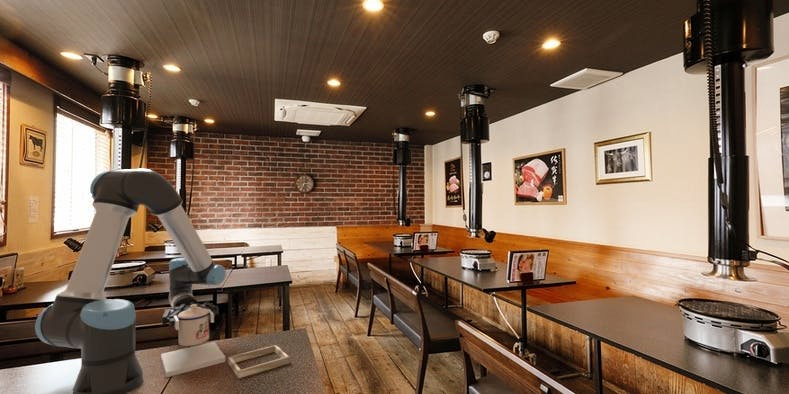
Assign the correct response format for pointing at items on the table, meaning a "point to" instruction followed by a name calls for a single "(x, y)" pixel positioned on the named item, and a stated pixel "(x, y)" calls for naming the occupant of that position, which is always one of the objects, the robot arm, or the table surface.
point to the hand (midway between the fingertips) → (195, 321)
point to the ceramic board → (191, 358)
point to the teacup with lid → (193, 326)
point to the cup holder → (261, 367)
